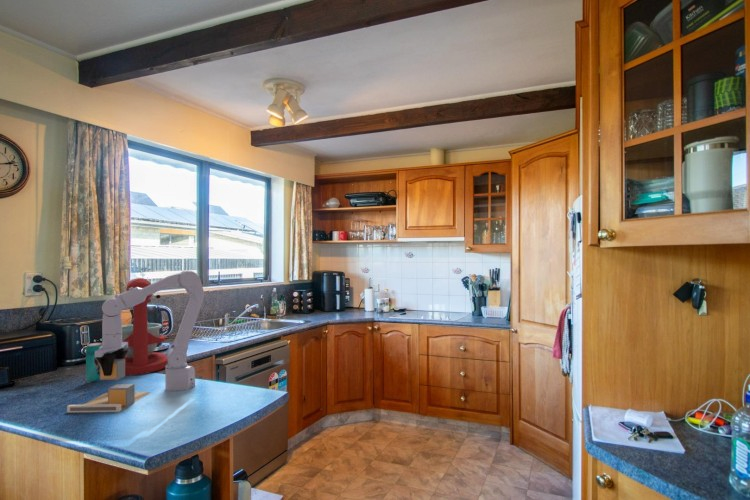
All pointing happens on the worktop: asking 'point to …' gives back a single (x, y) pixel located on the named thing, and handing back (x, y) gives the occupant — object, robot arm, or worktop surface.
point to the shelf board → (104, 399)
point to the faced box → (121, 394)
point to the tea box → (115, 370)
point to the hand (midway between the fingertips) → (112, 373)
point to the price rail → (94, 408)
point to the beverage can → (92, 363)
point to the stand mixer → (142, 337)
